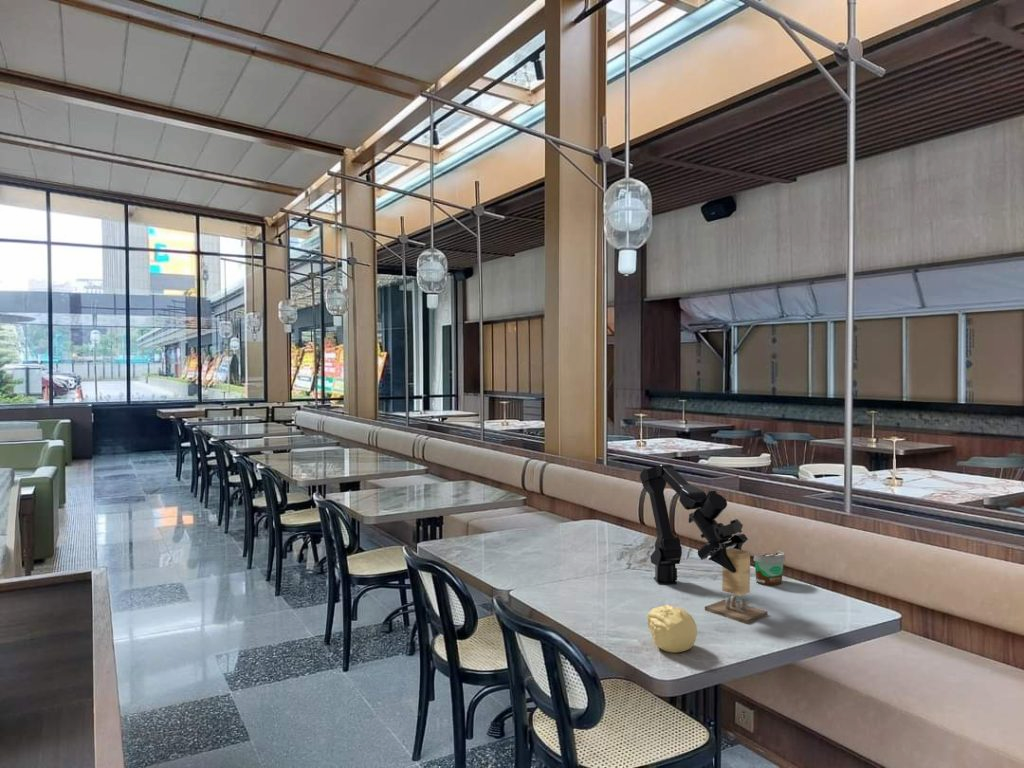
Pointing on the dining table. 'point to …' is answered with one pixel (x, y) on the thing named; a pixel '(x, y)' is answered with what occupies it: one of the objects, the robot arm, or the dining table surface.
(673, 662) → the dining table surface
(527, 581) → the dining table surface
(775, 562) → the food container
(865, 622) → the dining table surface
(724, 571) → the oak block
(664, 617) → the sculpture
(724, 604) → the peg base
